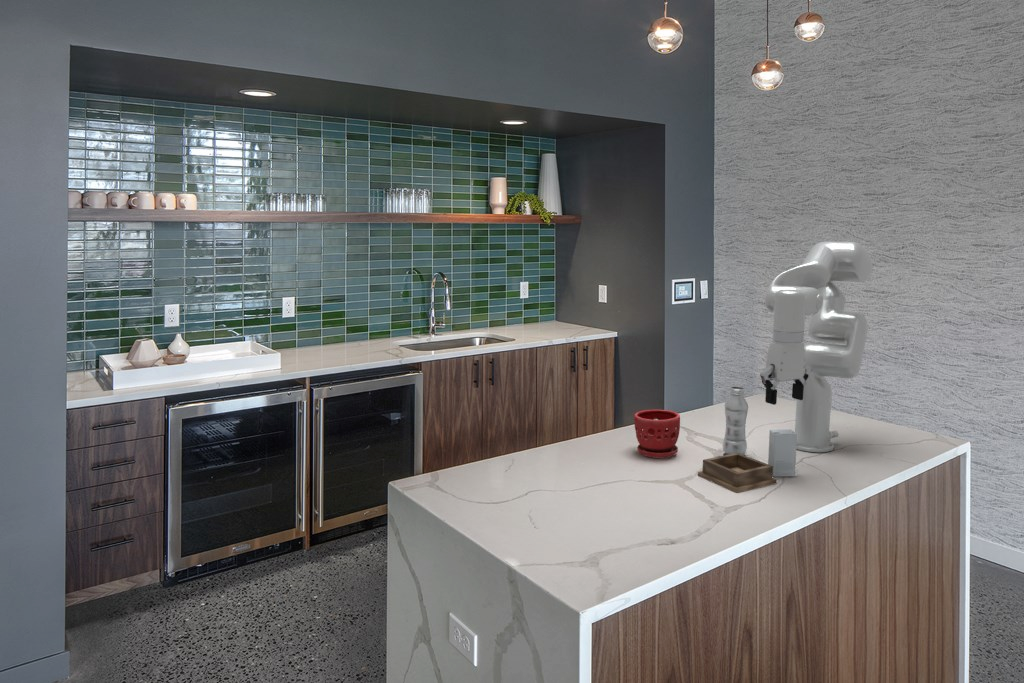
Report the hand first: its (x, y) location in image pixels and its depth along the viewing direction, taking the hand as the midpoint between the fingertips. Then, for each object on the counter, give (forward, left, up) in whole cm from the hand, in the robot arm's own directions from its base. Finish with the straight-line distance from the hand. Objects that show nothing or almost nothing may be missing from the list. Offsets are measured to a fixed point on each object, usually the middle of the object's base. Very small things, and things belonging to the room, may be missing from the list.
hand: (784, 401), depth 188 cm
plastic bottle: (-1, -18, -21) cm, 27 cm away
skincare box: (0, 0, -21) cm, 21 cm away
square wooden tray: (+13, -3, -20) cm, 24 cm away
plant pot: (+18, -30, -21) cm, 40 cm away
